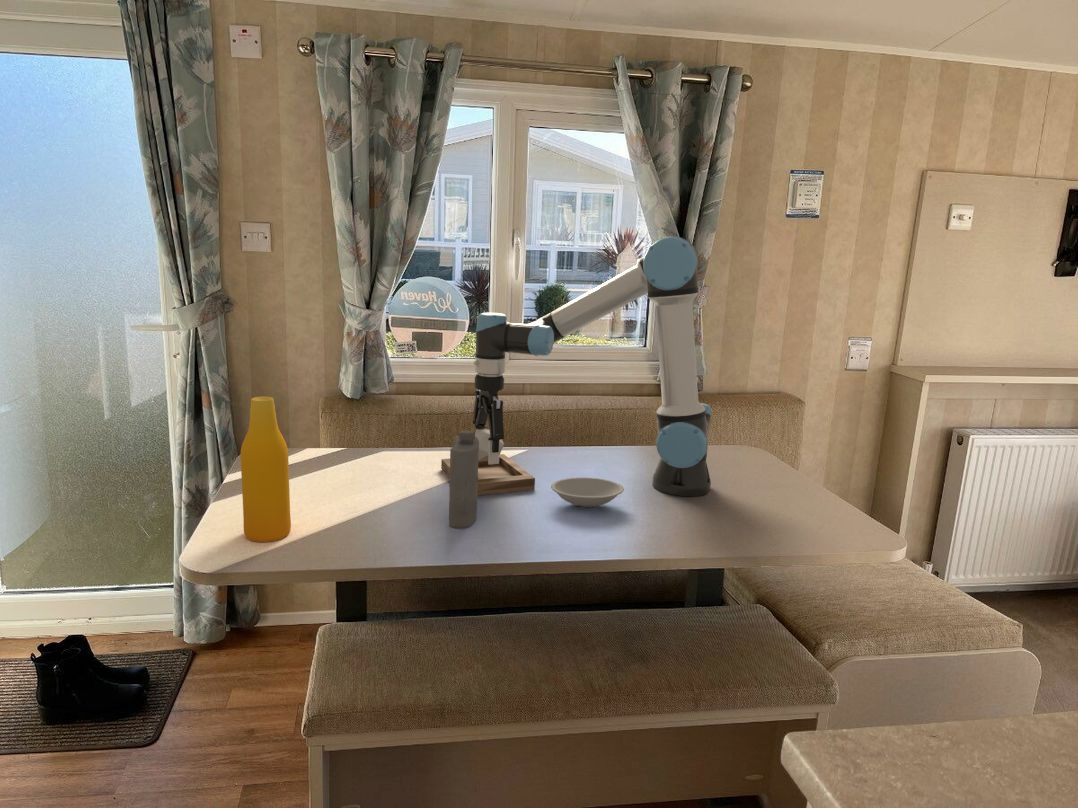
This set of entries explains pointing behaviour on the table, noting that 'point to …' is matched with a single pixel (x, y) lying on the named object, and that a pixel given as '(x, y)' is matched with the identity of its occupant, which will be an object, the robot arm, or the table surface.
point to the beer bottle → (265, 475)
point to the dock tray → (498, 476)
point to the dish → (587, 490)
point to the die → (485, 444)
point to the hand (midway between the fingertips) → (486, 458)
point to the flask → (463, 480)
